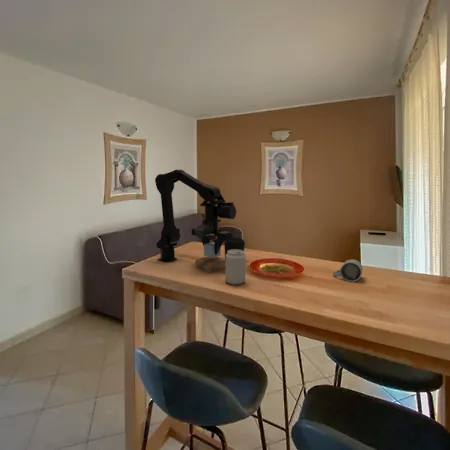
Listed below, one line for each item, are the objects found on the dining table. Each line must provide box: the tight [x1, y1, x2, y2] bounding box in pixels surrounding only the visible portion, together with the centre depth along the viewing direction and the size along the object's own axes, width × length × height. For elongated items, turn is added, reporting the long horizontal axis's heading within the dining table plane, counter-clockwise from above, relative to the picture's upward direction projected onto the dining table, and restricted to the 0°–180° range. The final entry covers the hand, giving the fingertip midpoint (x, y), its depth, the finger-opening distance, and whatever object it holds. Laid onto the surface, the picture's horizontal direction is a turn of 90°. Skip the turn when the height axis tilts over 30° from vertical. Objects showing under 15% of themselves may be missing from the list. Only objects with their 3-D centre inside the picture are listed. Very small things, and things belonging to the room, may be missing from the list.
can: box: [224, 249, 247, 286], centre depth 114 cm, size 8×8×12 cm
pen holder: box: [223, 237, 246, 259], centre depth 142 cm, size 9×9×10 cm
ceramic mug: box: [332, 259, 363, 283], centre depth 120 cm, size 11×8×8 cm
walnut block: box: [194, 256, 226, 274], centre depth 131 cm, size 10×10×4 cm
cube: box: [203, 241, 222, 258], centre depth 131 cm, size 5×5×5 cm
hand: (211, 253), depth 130 cm, fingers closed on cube, 5 cm apart
